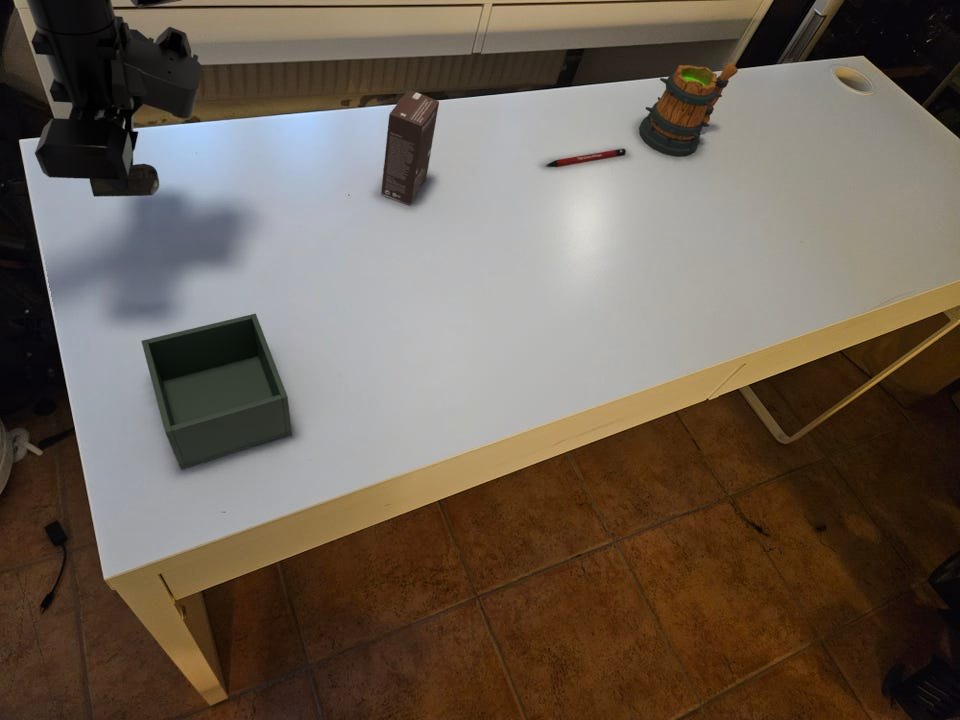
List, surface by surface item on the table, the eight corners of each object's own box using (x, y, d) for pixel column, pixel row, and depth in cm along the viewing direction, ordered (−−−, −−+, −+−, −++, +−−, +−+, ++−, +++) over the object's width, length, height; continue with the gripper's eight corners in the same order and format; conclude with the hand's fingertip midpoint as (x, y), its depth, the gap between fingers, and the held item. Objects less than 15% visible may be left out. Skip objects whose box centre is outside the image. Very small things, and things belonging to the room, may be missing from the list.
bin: (180, 469, 59) (165, 432, 54) (157, 382, 63) (141, 340, 58) (292, 434, 63) (287, 396, 57) (262, 354, 67) (255, 313, 62)
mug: (662, 162, 99) (695, 93, 90) (624, 122, 104) (652, 53, 95) (724, 148, 105) (761, 82, 96) (685, 111, 109) (717, 44, 100)
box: (412, 207, 84) (422, 125, 75) (380, 195, 85) (385, 112, 75) (429, 180, 88) (440, 99, 78) (398, 169, 88) (405, 87, 79)
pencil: (543, 166, 94) (544, 160, 94) (621, 152, 100) (623, 147, 99) (546, 170, 94) (547, 164, 93) (624, 156, 99) (626, 150, 98)
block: (90, 180, 64) (84, 164, 63) (156, 171, 67) (152, 156, 65) (95, 204, 62) (90, 189, 61) (163, 194, 65) (159, 179, 63)
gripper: (173, 91, 48) (206, 246, 60) (195, -29, 59) (219, 123, 71) (-1, 80, 46) (70, 244, 58) (54, -44, 56) (105, 117, 68)
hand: (124, 177), depth 64 cm, fingers closed on block, 3 cm apart
